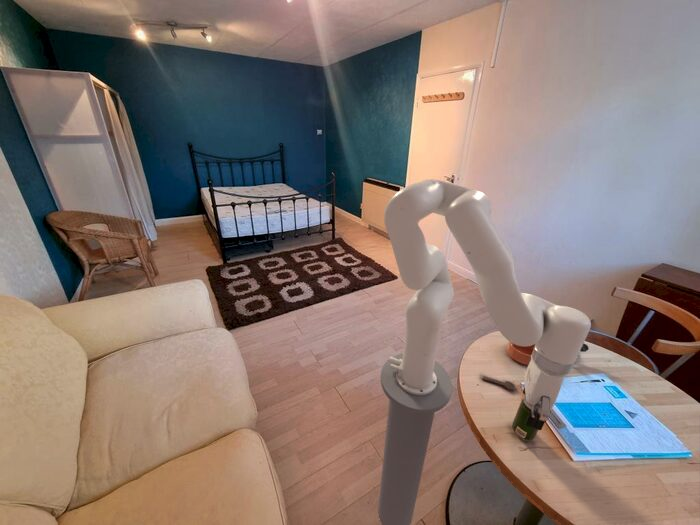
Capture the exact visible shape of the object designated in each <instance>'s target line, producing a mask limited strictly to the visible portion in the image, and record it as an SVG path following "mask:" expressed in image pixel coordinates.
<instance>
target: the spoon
mask: <svg viewBox="0 0 700 525" xmlns="http://www.w3.org/2000/svg"><path fill="white" fill-rule="evenodd" d="M482 381H485V382H488V383H491V384H494V385H498V386H500V387H503V388H505V390H507V391H509V392H514V391H515V389H516V386H515V384H514V383H513V382H511V381H501V380H498V379H494V378H491V377H488V376H485V375H482Z"/></svg>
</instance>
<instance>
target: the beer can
mask: <svg viewBox="0 0 700 525" xmlns="http://www.w3.org/2000/svg"><path fill="white" fill-rule="evenodd" d="M538 404H541V401H539V402H538ZM532 406H533V405H531V404H529V403H528V402H527V400H526V394H523V396H522V398H521V401H520V403H519V406H518V408H517V411H516V412H515V415H514V419H513V421H512V423H511V428H512V431H513V433H514V435H516V436H517V438H519V439H520V440H523V441H526V442H529V441H530V442H531V441H533V440H535V438H536V437H537V434H538V432H539V430H537V429H535V428H532V427H529V426H527V425H526V420H527V417H528V415H529V412H532ZM540 411H541V407H538V406H536V413H539V414H540Z"/></svg>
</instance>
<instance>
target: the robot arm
mask: <svg viewBox="0 0 700 525" xmlns="http://www.w3.org/2000/svg"><path fill="white" fill-rule="evenodd" d="M492 210H493V204H492V201H491V199H490V198H489V196H487V195H486V194H485V193H483V192H482V191H481V190H480V191H479V190H477V189H473V188H470V187H465V186H462V185H458V184H454V183H450V182H446V181H444V180H439V179H434V178H429V179H428V178H427V179H423V180H421V181H417V182H415V183H412V184H409V185H407V186H405V187H403V188H401V189H400V190H399V191H398V192H396V193H395V194H394V195H393V196H392V197H391V198H390V200H389V201H388V203H387V204H386V207H385V209H384V214H383V221H384V226H385V229H386V232H387V236H388V237H389V240H390V244H391V247H392V252H393V255H394V259H395V261H396V265H397V268H398V269H397V270H398V272H399V275H400V279H401V280H402V283H403V284H404V286H405V287H407V288H408V289H409V290H412V291H416V292H415V293H414V294H413V295H412V297H411V298H410V299H409V301H408V303H407V305H406V308H405V334H404V343H403V352H402V354H403V359H400V360H398V359H396V358H393V356H390V357H389V359H388V360H389V363H392V364H391V365H390V368H391V369H395V370H396V380H397V383H398V384H399V386H400V387H401V388H402V389H404V390H405V391H407V392H408V393H411V394H414V395H426V394H429V393H431V392H432V391H433V390H434V389H435V387H436V384H437V378H436V375H435V373H434V372H433V371H434V366H435V361H436V360H437V356H438V349H439V344H440V338H441V326H442V322H443V319H444V317H445V316H446V314H447V312H448V311H449V308H450V306H451V305H452V303H453V301H454V297H455V290H454V286H453V282H452V279H451V274H450V270H449V267H448V262H447V259H446V257H445V255H444V253H443V251H441V250H442V249H440V248H439V247H437V246H435V245H434V244H431V243H427V242H426V238H425V234H424V233H423V230H422V228H421V227H420V226H419V222H420V221H421V220H423V219H425V218H427V217H428V216H430V215H431V214H436V215H439V216H442V217H444V219H445V224H446V226H447V228H448V229H449V231H450V232H451V234H452V236H453V238H454V239H455V241H456V243H457V244H458V246H459V247H460V249H461V251H462V252H463V254H464V255H465V256H464V257H466V259H467V261H468V263H469V265H470V266H471V268H472V270H473V272H474V276H475V280H476V284H477V286H478V290H479V292H480V295H481V299H482V302H483V304H484V306H485V308H486V311H487V313H488V314H489V316H490V318H491V320H492V322H493V323H494V325H495V327H496V328H497V330H498V331H499V333H500V334H501V335H502V336H503V337H504V338H505V339H506V340H507V341H508V342H509V341H510V342H511V343H513V344H515V345H518V346H524V347H526V346H531V345H534V344H535V347H534V350H533V352H532V355H531V361H530V363H529V365H527V367H526V370H525V372H524V376H523V384H524V386H523V389H522V390H523V391H522V394H523V395H525V394H526V400H527V402H528V403H529V404H531V405H533V406H532V412H529V415H528V417H527V420H526V425H527V426H529V427H532V428H535V429H537V430H538V431H542V429H543V428H544V425H545V423H546V422H547V421H548V420H549V417H550V416H549V415H550V411H551V410H552V409H553V408H554V406H555V404H556V402H557V399H558V397H559V394H560V391H561V389H562V385H563V382H564V378H565V377H566V376H569V375H570V374H571V373H572V369H573V368H574V365H575V363H576V361H577V359H578V357H579V354H580V352H581V351H580V350H581V348H582V345H583V343H584V344H585V341H586V339H587V337H588V335H589V333H590V330H591V327H592V322H591V319H590V318H589V317H588V316H587V315H586V314H585V313H584V312H583V311H581V310H579V309H577V308H574V307H570V306H566V305H558V304H555V303H553V302H551V301H549V300H545V299H543V298H542V297H539V296H537V295H535V294H531V293H527V292H521V290H520V287H519V284H518V281H517V276H516V268H515V260H514V256H513V253H512V249H511V248H510V247H509V245H508V244H507V242H506V241H505V239H504V237H503V236H502V233H501V232H500V230H499V229H498V227H497V225H496V224H495V222H494V220H493V218H492V217H491V215H492V214H491V213H492ZM436 362H437V361H436ZM393 364H396V365H398V366H395V365H393ZM539 401H541V404H538V402H539ZM536 406H538V407H541V411H540V414H539V413H536Z"/></svg>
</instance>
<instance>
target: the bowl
mask: <svg viewBox="0 0 700 525" xmlns="http://www.w3.org/2000/svg"><path fill="white" fill-rule="evenodd" d="M534 347H535V344H534V345H531V346H526V347H524V346H518V345H515V344H513V343H511V342H510V341H508V343H507V346H506V352H507V355H508V356H509V357H510V358H511V359H512V360H514V361H516V362H517V363H520V364H522V365H526V366H528V365H529V363H530V361H531V355H532V352H533V350H534Z"/></svg>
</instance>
